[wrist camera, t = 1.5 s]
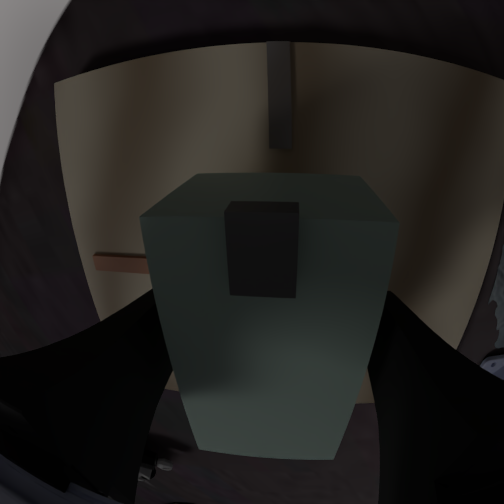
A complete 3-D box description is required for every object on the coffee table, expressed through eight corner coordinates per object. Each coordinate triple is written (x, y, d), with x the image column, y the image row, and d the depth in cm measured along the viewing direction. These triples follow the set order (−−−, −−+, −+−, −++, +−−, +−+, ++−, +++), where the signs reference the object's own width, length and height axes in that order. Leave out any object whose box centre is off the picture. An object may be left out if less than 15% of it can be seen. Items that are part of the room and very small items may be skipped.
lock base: (494, 83, 9) (537, 84, 6) (426, 380, 17) (438, 419, 14) (73, 83, 12) (27, 85, 9) (132, 365, 20) (113, 399, 17)
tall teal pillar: (360, 166, 9) (412, 218, 5) (330, 382, 13) (333, 472, 9) (196, 164, 9) (122, 212, 5) (219, 376, 13) (194, 461, 9)
